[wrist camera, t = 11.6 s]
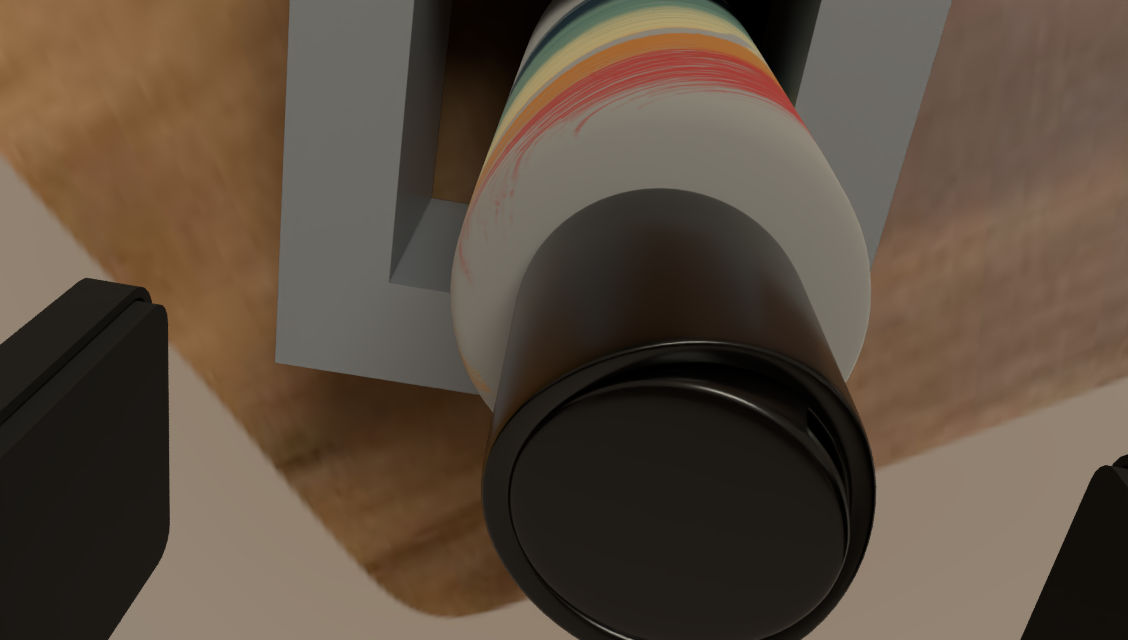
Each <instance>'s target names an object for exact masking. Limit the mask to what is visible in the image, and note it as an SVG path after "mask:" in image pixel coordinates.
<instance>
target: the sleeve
mask: <svg viewBox="0 0 1128 640" xmlns="http://www.w3.org/2000/svg"><path fill="white" fill-rule="evenodd" d="M951 2H952V0H772V3H771V7H770V11H769V16H768V20H767V24H766V29H765V33H764V37H763V42H762V46H761V50H760V54H761V55H762V57H763V58H764V60H765V62H766V63H767V65H768V67H769V68H770V70H771V71H772V73H773V75H774V76H775V78H776V79H777V81H778V83H779V84H780V86H781V87H782V89H783V91H784V92H785V94H786V95H787V97H788V99H789V100H790V102H791V103H792V105H793V107H794V108H795V110H796V112H797V113H798V115H799V116H800V118H801V120H802V121H803V123H804V124H805V126H806V128H807V129H808V131H809V132H810V134H811V136H812V137H813V139H814V141H815V142H816V144H817V145H818V147H819V149H820V150H821V152H822V154H823V155H824V157H825V159H826V160H827V162H828V164H829V165H830V167H831V169H832V170H833V172H834V174H835V176H836V178H837V179H838V181H839V183H840V185H841V187H842V188H843V190H844V192H845V194H846V196H847V197H848V199H849V201H850V203H851V206H852V208H853V210H854V212H855V215H856V217H857V220H858V222H859V224H860V227H861V230H862V233H863V237H864V240H865V244H866V248H867V254H868V259H869V266H870V271H871V268H872V264H873V261H874V258H875V254H876V251H877V248H878V244H879V241H880V238H881V234H882V231H883V228H884V225H885V221H886V218H887V215H888V211H889V208H890V205H891V201H892V198H893V195H894V191H895V188H896V185H897V181H898V178H899V175H900V171H901V168H902V165H903V161H904V158H905V155H906V151H907V148H908V145H909V142H910V138H911V135H912V132H913V128H914V125H915V122H916V118H917V115H918V112H919V108H920V105H921V102H922V98H923V95H924V92H925V88H926V85H927V82H928V78H929V75H930V72H931V68H932V65H933V62H934V59H935V55H936V52H937V49H938V45H939V42H940V39H941V35H942V32H943V29H944V25H945V22H946V19H947V15H948V12H949V9H950V5H951ZM451 9H452V0H290V10H289V35H288V59H287V84H286V108H285V133H284V157H283V181H282V206H281V230H280V255H279V279H278V304H277V328H276V353H275V363H281V364H287V365H294V366H300V367H306V368H313V369H319V370H325V371H332V372H338V373H344V374H351V375H357V376H363V377H370V378H376V379H382V380H389V381H395V382H401V383H407V384H414V385H420V386H426V387H433V388H439V389H445V390H452V391H458V392H464V393H471V394H477V395H480V394H479V392H478V391H477V389H476V388H475V386H474V384H473V383H472V381H471V378H470V376H469V374H468V372H467V370H466V368H465V366H464V363H463V360H462V358H461V355H460V352H459V349H458V345H457V341H456V337H455V333H454V327H453V320H452V312H451V291H450V289H451V275H452V267H453V261H454V256H455V251H456V247H457V243H458V239H459V236H460V232H461V229H462V226H463V222H464V219H465V216H466V213H467V210H468V207H469V204H465V203H459V202H453V201H446V200H440V199H434V198H432V190H433V180H434V171H435V161H436V152H437V142H438V133H439V123H440V114H441V104H442V95H443V85H444V75H445V66H446V56H447V47H448V37H449V28H450V18H451Z"/></svg>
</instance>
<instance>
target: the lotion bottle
mask: <svg viewBox="0 0 1128 640" xmlns="http://www.w3.org/2000/svg"><path fill="white" fill-rule="evenodd" d="M450 291H451V312H452V320H453V327H454V333H455V337H456V341H457V345H458V349H459V352H460V355H461V358H462V360H463V363H464V366H465V368H466V370H467V372H468V374H469V376H470V378H471V381H472V383H473V384H474V386H475V388H476V389H477V391H478V392H479V394H480V396H481V397H482V399H483V400H484V401H485V403H486V404H487V405H488V407H489V408H490V409H491V411H492V412H493V416H492V421H491V426H490V431H489V436H488V441H487V446H486V451H485V456H484V462H483V469H482V479H481V502H482V509H483V515H484V519H485V523H486V526H487V530H488V533H489V536H490V538H491V541H492V543H493V546H494V548H495V550H496V552H497V554H498V556H499V558H500V560H501V562H502V563H503V565H504V567H505V568H506V570H507V571H508V573H509V574H510V576H511V577H512V578H513V580H514V581H515V583H516V584H517V585H518V587H519V588H520V589H521V590H522V591H523V592H524V594H525V595H526V596H527V597H528V598H529V599H530V600H531V601H532V602H533V603H534V604H535V605H536V606H537V607H538V608H539V609H540V610H541V611H542V612H543V613H544V614H545V615H546V616H548V617H549V618H550V619H551V620H552V621H554V622H555V623H556V624H557V625H559V626H560V627H562V628H563V629H564V630H565V631H567V632H568V633H570V634H571V635H573V636H574V637H576V638H578V639H579V640H801V639H803V638H804V637H805V636H807V635H808V634H809V633H810V632H812V631H813V630H814V629H815V628H816V627H817V626H818V625H819V624H820V623H821V622H822V621H823V620H824V619H825V618H826V617H827V616H828V615H829V614H830V612H831V611H832V610H833V609H834V608H835V607H836V605H837V604H838V603H839V601H840V600H841V598H842V597H843V596H844V594H845V592H846V591H847V590H848V588H849V586H850V584H851V583H852V581H853V579H854V578H855V576H856V573H857V572H858V569H859V567H860V565H861V562H862V560H863V558H864V555H865V552H866V549H867V546H868V543H869V539H870V535H871V531H872V527H873V521H874V514H875V505H876V480H875V479H876V478H875V468H874V462H873V457H872V452H871V448H870V445H869V441H868V438H867V435H866V432H865V429H864V426H863V424H862V421H861V419H860V416H859V414H858V412H857V409H856V407H855V405H854V402H853V400H852V398H851V395H850V393H849V391H848V388H847V386H846V384H845V383H846V381H847V380H848V378H849V376H850V374H851V372H852V370H853V368H854V366H855V364H856V362H857V359H858V356H859V354H860V351H861V349H862V346H863V342H864V339H865V335H866V331H867V327H868V321H869V314H870V306H871V279H870V266H869V259H868V254H867V248H866V244H865V240H864V237H863V233H862V230H861V227H860V224H859V222H858V220H857V217H856V215H855V212H854V210H853V208H852V206H851V203H850V201H849V199H848V197H847V196H846V194H845V192H844V190H843V188H842V187H841V185H840V183H839V181H838V179H837V178H836V176H835V174H834V172H833V170H832V169H831V167H830V165H829V164H828V162H827V160H826V159H825V157H824V155H823V154H822V152H821V150H820V149H819V147H818V145H817V144H816V142H815V141H814V139H813V137H812V136H811V134H810V132H809V131H808V129H807V128H806V126H805V124H804V123H803V121H802V120H801V118H800V116H799V115H798V113H797V112H796V110H795V108H794V107H793V105H792V103H791V102H790V100H789V99H788V97H787V95H786V94H785V92H784V91H783V89H782V87H781V86H780V84H779V83H778V81H777V79H776V78H775V76H774V75H773V73H772V71H771V70H770V68H769V67H768V65H767V63H766V62H765V60H764V58H763V57H762V55H761V54H760V52H759V50H758V49H757V47H756V46H755V44H754V42H753V41H752V39H751V38H750V36H749V34H748V33H747V31H746V30H745V28H744V26H743V25H742V23H741V22H740V20H739V19H738V17H737V16H736V14H735V13H734V11H733V10H732V9H731V7H730V6H729V4H728V3H727V2H726V1H725V0H552V2H551V3H550V4H549V5H548V7H547V8H546V10H545V11H544V13H543V14H542V16H541V18H540V20H539V21H538V23H537V25H536V27H535V29H534V31H533V34H532V36H531V39H530V41H529V43H528V46H527V49H526V51H525V54H524V57H523V59H522V62H521V65H520V67H519V70H518V73H517V76H516V78H515V81H514V84H513V86H512V89H511V92H510V95H509V97H508V100H507V103H506V105H505V108H504V111H503V114H502V116H501V119H500V122H499V124H498V127H497V130H496V133H495V135H494V138H493V141H492V143H491V146H490V149H489V152H488V154H487V157H486V160H485V162H484V165H483V168H482V171H481V173H480V176H479V179H478V181H477V184H476V187H475V190H474V193H473V195H472V198H471V201H470V204H469V207H468V210H467V213H466V216H465V219H464V222H463V226H462V229H461V232H460V236H459V239H458V243H457V247H456V251H455V256H454V261H453V267H452V275H451V289H450Z"/></svg>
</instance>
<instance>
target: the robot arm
mask: <svg viewBox="0 0 1128 640" xmlns="http://www.w3.org/2000/svg"><path fill="white" fill-rule="evenodd" d="M168 390H169V389H168V318H167V312H166V309H165V308H164V307H163V305H159V304H153V303H152V300H151V297H150V294H149V292H148V291H147V290H146V289H145V288H144V287H138V286H132V285H126V284H120V283H114V282H108V281H102V280H97V279H91V278H84V279H83V280H81V281H79V282H78V283H76V284H75V285H74V286H73V287H72V288H70V289H69V290H68V291H66V292H65V293H64V294H63V295H61V296H60V297H59V298H58V299H56V300H55V301H54V302H53V303H51V304H50V305H49V306H48V307H47V308H45V309H44V310H43V311H42V312H40V313H39V314H38V315H37V316H35V317H34V318H33V319H32V320H30V321H29V322H28V323H27V324H25V325H24V326H23V327H22V328H20V329H19V330H18V331H17V332H15V333H14V334H13V335H12V336H11V337H9V338H8V339H7V340H6V341H4V342H3V343H2V344H1V345H0V640H108V639H109V637H110V636H111V634H112V633H113V631H114V630H115V628H116V627H117V625H118V624H119V622H120V621H121V619H122V617H123V616H124V615H125V613H126V612H127V610H128V609H129V607H130V606H131V604H132V602H133V601H134V600H135V598H136V597H137V595H138V593H139V592H140V590H141V589H142V587H143V586H144V584H145V583H146V581H147V580H148V578H149V577H150V575H151V574H152V572H153V571H154V569H155V568H156V566H157V565H158V563H159V561H160V559H161V558H162V555H163V553H164V550H165V547H166V544H167V540H168V535H169V526H170V510H169V509H170V508H169V507H170V504H169V392H168ZM1021 640H1128V455H1125V456H1122V457H1120V458H1119V459H1118V460H1117V461H1116V462H1115V463H1113V465H1112V466H1108V465H1105V466H1102V467H1100V468H1099V469H1098V470H1097V471H1096V472H1095V473H1094V475H1093V477H1092V478H1091V481H1090V483H1089V485H1088V487H1087V490H1086V492H1085V494H1084V496H1083V499H1082V501H1081V503H1080V505H1079V508H1078V510H1077V512H1076V515H1075V517H1074V519H1073V522H1072V524H1071V526H1070V528H1069V531H1068V533H1067V535H1066V537H1065V540H1064V542H1063V544H1062V547H1061V549H1060V551H1059V553H1058V555H1057V558H1056V560H1055V563H1054V565H1053V567H1052V569H1051V572H1050V574H1049V576H1048V578H1047V581H1046V583H1045V585H1044V587H1043V590H1042V592H1041V594H1040V596H1039V599H1038V601H1037V603H1036V606H1035V608H1034V610H1033V612H1032V615H1031V617H1030V619H1029V621H1028V624H1027V626H1026V629H1025V631H1024V633H1023V635H1022V637H1021Z"/></svg>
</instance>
